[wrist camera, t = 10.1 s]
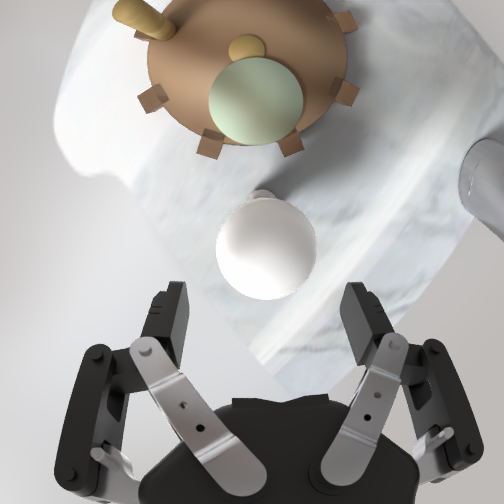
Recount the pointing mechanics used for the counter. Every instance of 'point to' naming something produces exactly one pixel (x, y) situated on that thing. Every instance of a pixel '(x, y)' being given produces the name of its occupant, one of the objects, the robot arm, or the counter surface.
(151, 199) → the counter surface
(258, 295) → the lightbulb
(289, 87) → the sprocket
